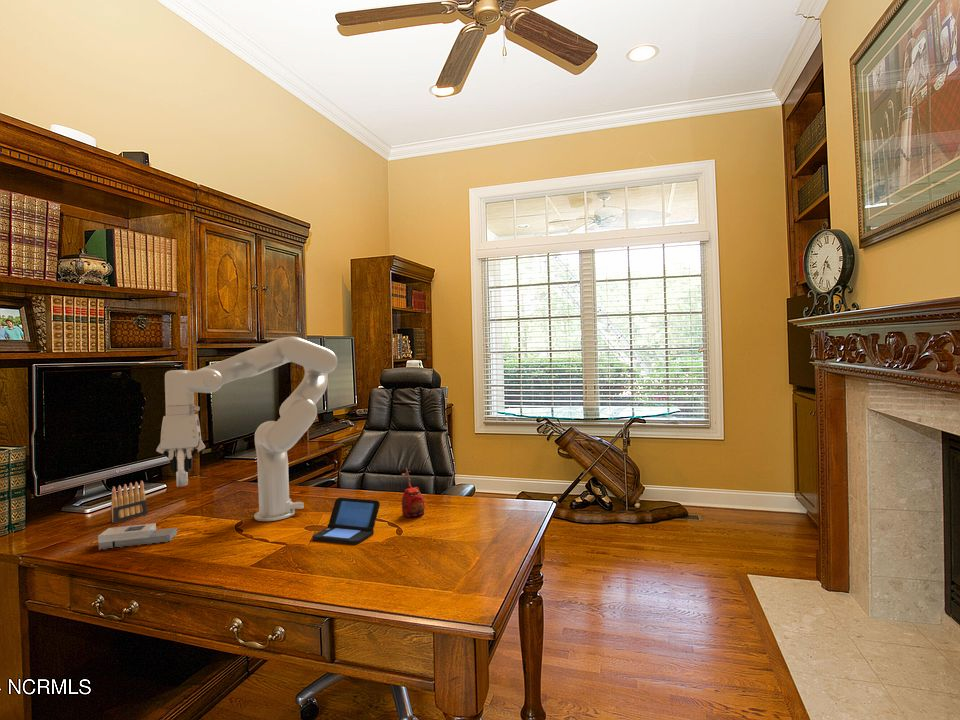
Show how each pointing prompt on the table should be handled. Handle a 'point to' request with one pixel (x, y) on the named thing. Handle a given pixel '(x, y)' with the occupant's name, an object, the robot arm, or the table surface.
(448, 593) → the table surface
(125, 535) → the chain link
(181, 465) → the pin
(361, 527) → the game console
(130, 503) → the ammunition clip
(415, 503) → the red clay folk toy
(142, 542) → the chain link
